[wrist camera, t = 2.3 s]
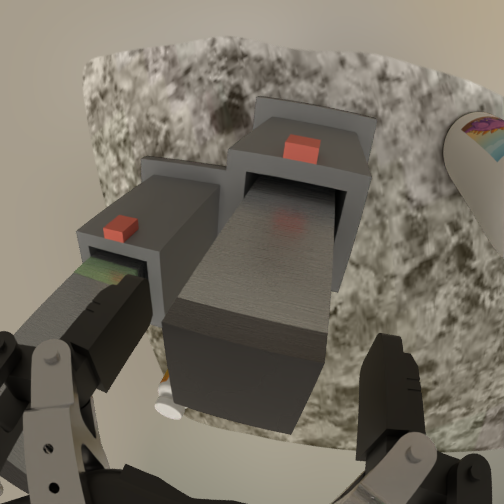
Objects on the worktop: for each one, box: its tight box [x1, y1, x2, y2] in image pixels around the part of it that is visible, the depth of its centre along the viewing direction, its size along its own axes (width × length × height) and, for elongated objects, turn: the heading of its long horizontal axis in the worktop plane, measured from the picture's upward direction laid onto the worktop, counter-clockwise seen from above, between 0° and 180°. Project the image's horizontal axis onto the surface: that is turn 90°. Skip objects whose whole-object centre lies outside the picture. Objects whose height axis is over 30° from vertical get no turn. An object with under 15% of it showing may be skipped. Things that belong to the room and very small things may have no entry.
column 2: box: [161, 174, 335, 435], centre depth 17 cm, size 4×4×22 cm
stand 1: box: [76, 156, 227, 328], centre depth 27 cm, size 10×10×13 cm
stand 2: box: [222, 96, 377, 293], centre depth 22 cm, size 10×10×13 cm
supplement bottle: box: [155, 369, 187, 419], centre depth 42 cm, size 5×5×10 cm
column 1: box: [0, 249, 149, 494], centre depth 18 cm, size 4×4×22 cm
